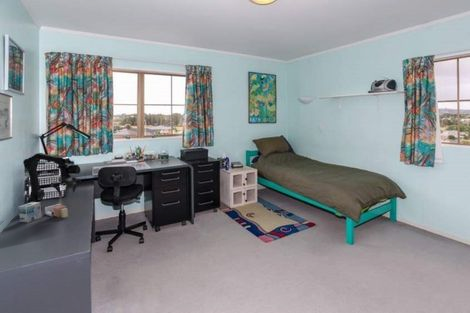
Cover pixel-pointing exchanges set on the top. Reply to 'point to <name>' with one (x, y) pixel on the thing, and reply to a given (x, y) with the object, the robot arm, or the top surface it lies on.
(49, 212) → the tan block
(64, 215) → the tethered block
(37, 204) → the light bulb box
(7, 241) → the top surface
